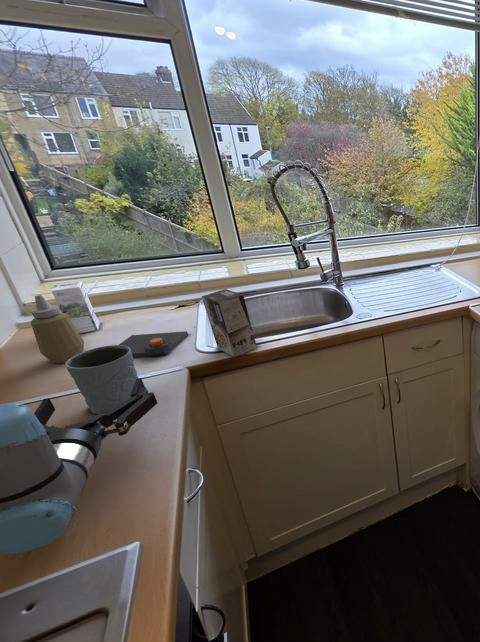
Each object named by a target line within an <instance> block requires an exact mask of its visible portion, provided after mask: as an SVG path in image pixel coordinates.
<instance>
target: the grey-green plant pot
mask: <svg viewBox="0 0 480 642" xmlns="http://www.w3.org/2000/svg"><path fill="white" fill-rule="evenodd" d="M64 366H65V368H66V370H67V371H68V373H69V375H70V377H71V378H72V379H73V381H74V384H75V385H76V387H77V388H78V390H79V393H80V394H81V395H82V397H83V398H84V401H85V403H86V405H87V407H88V409H89V410H90V412H91V413H93V414H96V415H98V414H105V413H106V412H108V411H110V410H111V409H113V408H115V407H117V406H118V405H120V404H122V403H123V402H125V401H127V400H128V399H130V398H131V395H130V394H131V392H132V389H133V387H134V384H135V381H136V379H138V378H139V377H138V372H137V369H136V368H135V362H134V358H133V356H132V352H131V349H130V348H129V347H128V346H124V345H119V344H111V345H104V346H99V347H95V348H91V349H88V350H85V351H84V352H82V353H79V354H77V355H75V356H73V357H72V358H70V359H69V360H68V361H67V362H65V363H64Z"/></svg>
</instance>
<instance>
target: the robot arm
mask: <svg viewBox="0 0 480 642" xmlns="http://www.w3.org/2000/svg"><path fill="white" fill-rule="evenodd" d="M130 395H131V398H130V399H128V400H127V401H125V402H123V403H122V404H120V405H118V406H117V407H115V408H113V409H111V410H110V411H108V412H106V413H105V414H96V415H95V416H93V417H92V418H90V419H88V420H85V421H82V422H79V423H73V424H69V425H65V426H64V427H58V426H55V425H50V426H49V425H47V423H48V422H49V420H50V419H51V417H52V415H53V414H54V412H55V411H56V407H55V406H54V403H53V402H52V400H51V398H50V397H47V398H43V400H42V401H41V402H40V403H39V405H38V407H37V408H36V409H35V411H33V410H32V408H31V407H30V406H28V405H26V404H22V403H15V402H10V403H9V402H8V403H0V554H4V555H5V554H6V555H18V554H19V555H20V554H25V553H30V552H33V551H35V550H39V549H41V548H44V547H46V546H48V545H50V544H52V543H53V542H54V541H56V540H57V539H58V538H59V537H60V536H61V535H63V533H64V532H65V530H66V529H67V527H68V524H69V522H70V520H71V519H72V518H73V517H74V515H75V513H76V509H77V506H78V503H79V501H80V499H81V496H82V494H83V492H84V491H83V490H84V489H85V486H86V482H87V480H88V478H89V476H90V473H91V471H92V469H93V467H94V463H95V462H96V460H97V457H98V455H99V452H100V450H101V446H102V443H103V442H102V441H103V440H104V439H106V438H107V436H108V435H112V434H116V433H117V434H118V436H119V437H121V436H122V437H123V436H125V435H127V434H128V433H129V431H130V429H131V428H132V427H133V426H134V425H135V424H136V423H138V421H139V420H141V419H142V418H143V417H144V416H145V415H146V414H147V413H149V412H150V411H151V410H152V409H153V408H154V407H155V406H157V405H158V400H157V397H156V395H155V392H153V391H151V392H149V391H148V389H147V386H146V385H145V383H144V381H143V379H142V377H138V379H136V381H135V384H134V387H133V389H132V392H131V394H130Z"/></svg>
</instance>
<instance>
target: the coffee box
mask: <svg viewBox="0 0 480 642" xmlns="http://www.w3.org/2000/svg"><path fill="white" fill-rule="evenodd" d="M201 300H202V303H203V306H204V309H205V313H206V315H207V319H208V322H209V325H210V328H211V331H212V334H213V338H214V340H215V344H216V347H217V349H218V350H220V351H222V352H224V353H226V354H228V355H230V356H232V357H234V358H235V357H237V356H238V357H239V356H240V355H242V354H245V353H248V352H251V351H252V350H255V349H257V341H256V338H255V334H254V331H253V327H252V323H251V318H250V315H249V312H248V308H247V303H246V299H245V295H244V294H241V293H239V292H236V291H233V290H230V289H226V288H224V289H220V290H217V291H214V292H212V293H211V292H210V293H208V294H204V295H201Z"/></svg>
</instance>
